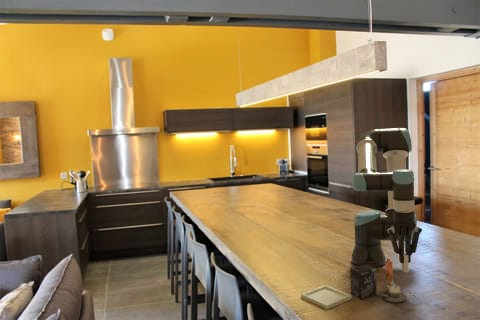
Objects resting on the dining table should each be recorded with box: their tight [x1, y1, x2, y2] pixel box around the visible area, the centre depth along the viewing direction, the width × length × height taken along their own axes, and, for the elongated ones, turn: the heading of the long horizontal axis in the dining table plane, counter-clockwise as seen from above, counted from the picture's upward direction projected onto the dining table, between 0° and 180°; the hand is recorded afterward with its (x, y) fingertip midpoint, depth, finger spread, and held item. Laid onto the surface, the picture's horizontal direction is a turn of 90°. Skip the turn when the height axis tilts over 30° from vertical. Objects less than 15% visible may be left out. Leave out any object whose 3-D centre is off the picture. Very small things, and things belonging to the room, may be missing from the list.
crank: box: [385, 257, 401, 297], centre depth 150 cm, size 13×4×10 cm, turn 169°
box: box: [349, 264, 378, 300], centre depth 150 cm, size 8×6×11 cm
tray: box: [300, 284, 353, 310], centre depth 149 cm, size 13×13×1 cm
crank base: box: [381, 290, 407, 304], centre depth 146 cm, size 8×8×1 cm
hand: (405, 270), depth 154 cm, fingers closed
